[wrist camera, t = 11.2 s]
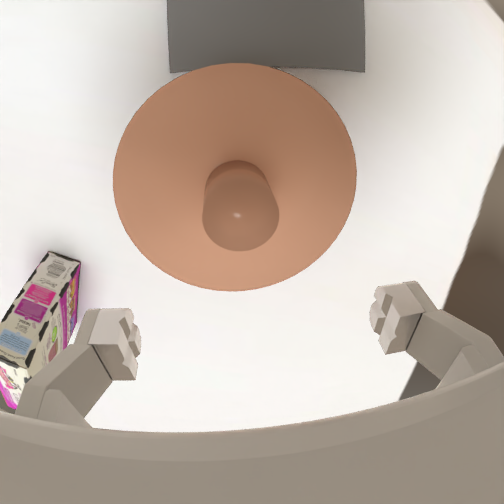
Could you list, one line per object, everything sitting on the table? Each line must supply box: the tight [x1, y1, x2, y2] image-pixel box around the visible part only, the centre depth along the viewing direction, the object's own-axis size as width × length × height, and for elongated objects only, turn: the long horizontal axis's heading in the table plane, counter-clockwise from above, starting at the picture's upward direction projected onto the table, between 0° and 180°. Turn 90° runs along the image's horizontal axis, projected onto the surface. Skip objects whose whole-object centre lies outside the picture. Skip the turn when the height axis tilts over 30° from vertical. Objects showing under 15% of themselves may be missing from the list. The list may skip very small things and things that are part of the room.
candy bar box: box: [0, 252, 80, 410], centre depth 28 cm, size 11×5×16 cm, turn 157°
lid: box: [113, 63, 357, 291], centre depth 18 cm, size 16×16×5 cm
